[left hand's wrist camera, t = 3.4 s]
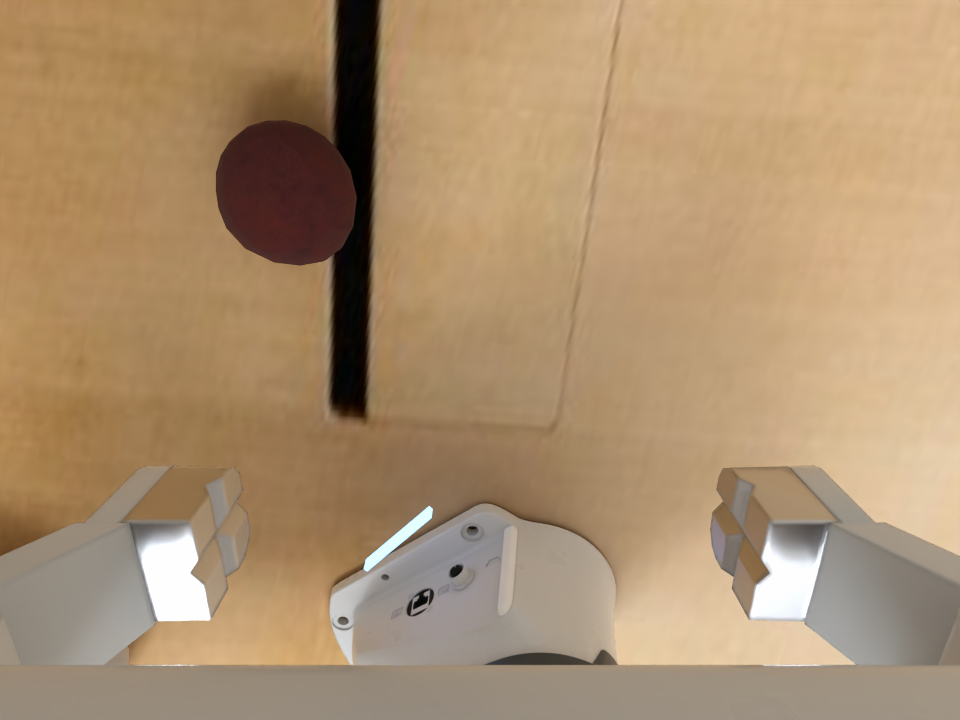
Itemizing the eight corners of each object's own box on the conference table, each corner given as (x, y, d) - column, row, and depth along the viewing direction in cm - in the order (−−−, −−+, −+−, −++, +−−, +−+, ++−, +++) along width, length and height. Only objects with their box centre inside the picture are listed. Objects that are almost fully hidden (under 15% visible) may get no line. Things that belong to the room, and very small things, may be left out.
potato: (327, 98, 34) (291, 92, 27) (389, 225, 36) (370, 248, 30) (216, 153, 35) (156, 161, 28) (284, 273, 38) (243, 305, 31)
